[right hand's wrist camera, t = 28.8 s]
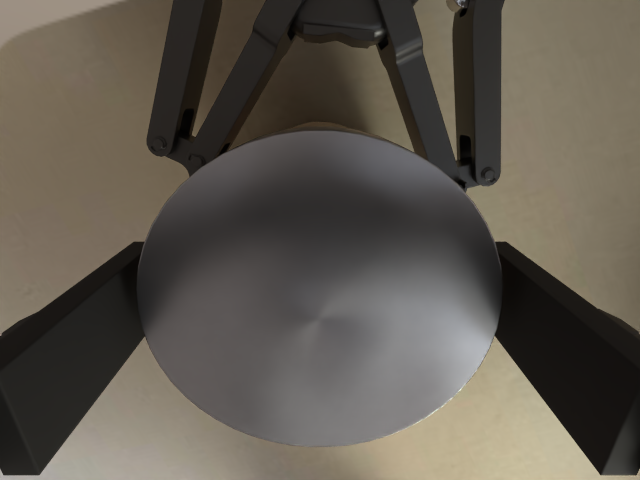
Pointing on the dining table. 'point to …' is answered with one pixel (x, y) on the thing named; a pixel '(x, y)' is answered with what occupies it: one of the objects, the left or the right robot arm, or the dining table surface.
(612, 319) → the right robot arm
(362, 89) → the dining table surface
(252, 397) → the lid
